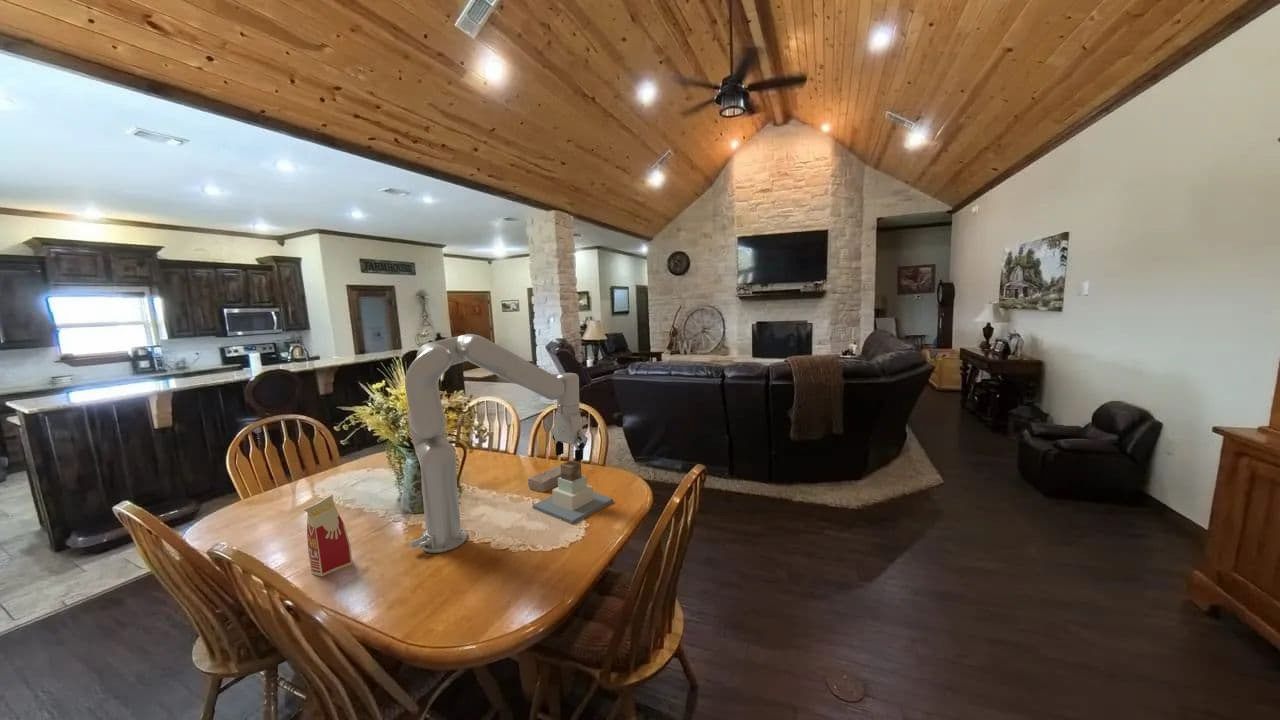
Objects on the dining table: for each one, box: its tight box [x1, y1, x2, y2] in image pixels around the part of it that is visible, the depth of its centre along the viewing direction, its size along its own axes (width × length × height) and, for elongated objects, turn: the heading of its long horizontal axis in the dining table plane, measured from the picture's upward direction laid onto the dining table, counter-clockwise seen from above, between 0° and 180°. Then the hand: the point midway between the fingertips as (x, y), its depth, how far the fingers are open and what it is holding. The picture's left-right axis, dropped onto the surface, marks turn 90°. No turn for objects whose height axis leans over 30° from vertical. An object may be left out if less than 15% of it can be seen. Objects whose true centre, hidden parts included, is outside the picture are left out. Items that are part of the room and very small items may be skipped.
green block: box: [557, 474, 588, 494], centre depth 157 cm, size 7×7×4 cm
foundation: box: [531, 484, 614, 525], centre depth 158 cm, size 20×20×6 cm
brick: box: [527, 465, 561, 493], centre depth 178 cm, size 16×8×5 cm, turn 150°
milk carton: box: [302, 493, 353, 577], centre depth 124 cm, size 9×9×20 cm
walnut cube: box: [560, 460, 583, 481], centre depth 156 cm, size 5×5×5 cm
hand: (569, 457), depth 156 cm, fingers open, 9 cm apart
